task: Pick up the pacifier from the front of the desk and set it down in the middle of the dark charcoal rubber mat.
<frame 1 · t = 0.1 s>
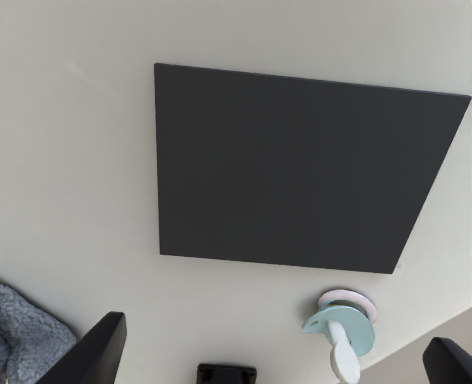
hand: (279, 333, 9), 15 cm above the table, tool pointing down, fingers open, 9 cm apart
mat: (292, 184, 23), on the table
pacifier: (339, 309, 30), on the table
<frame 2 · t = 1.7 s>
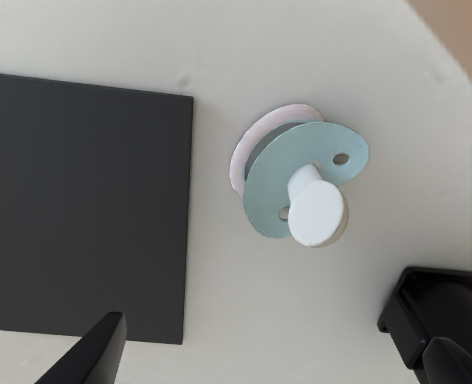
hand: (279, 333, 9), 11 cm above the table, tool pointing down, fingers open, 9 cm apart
mat: (74, 235, 20), on the table
pacifier: (285, 159, 18), on the table
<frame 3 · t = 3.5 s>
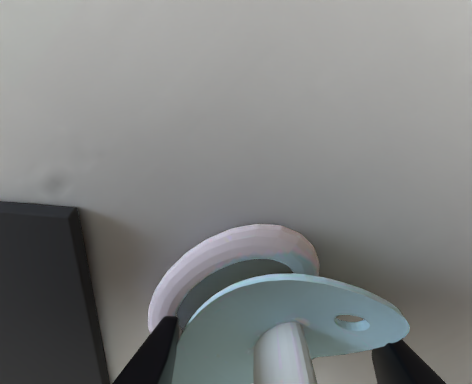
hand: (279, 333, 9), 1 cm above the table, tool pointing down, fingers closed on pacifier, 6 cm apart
pacifier: (250, 296, 10), on the table, touching gripper
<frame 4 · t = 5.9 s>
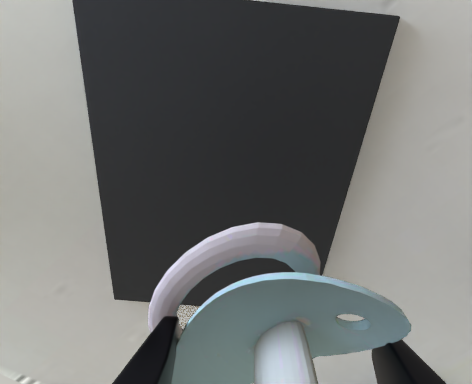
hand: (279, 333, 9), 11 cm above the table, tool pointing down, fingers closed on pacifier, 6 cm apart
mat: (222, 189, 19), on the table
pacifier: (250, 295, 10), point 10 cm above the table, touching gripper
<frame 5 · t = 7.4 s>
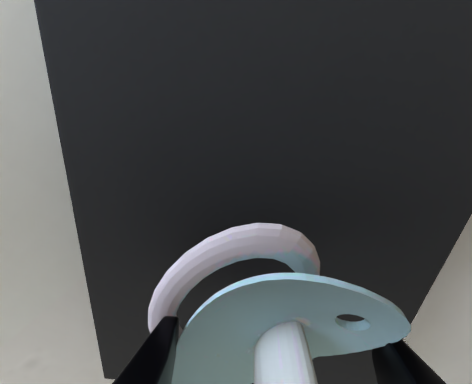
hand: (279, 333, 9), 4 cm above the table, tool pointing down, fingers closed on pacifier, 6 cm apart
mat: (264, 239, 13), on the table
pacifier: (250, 295, 10), point 3 cm above the table, touching gripper
when the fingers open (2 cm above the table, at t = 8.6 s): pacifier stays where it is, resting on mat.
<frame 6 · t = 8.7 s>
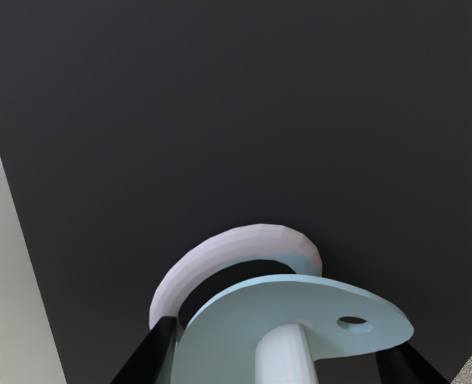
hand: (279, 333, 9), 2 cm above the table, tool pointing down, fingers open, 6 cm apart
mat: (271, 291, 10), on the table
pacifier: (252, 297, 10), resting on mat
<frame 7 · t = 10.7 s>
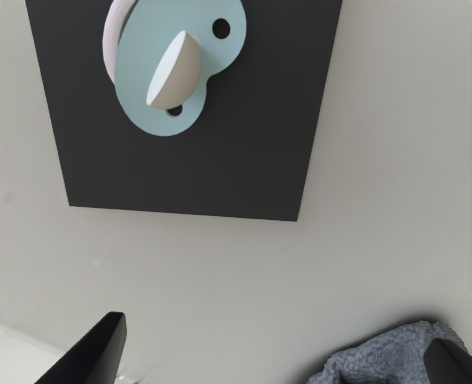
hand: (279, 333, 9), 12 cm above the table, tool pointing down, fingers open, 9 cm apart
mat: (184, 46, 16), on the table
pacifier: (170, 45, 16), resting on mat
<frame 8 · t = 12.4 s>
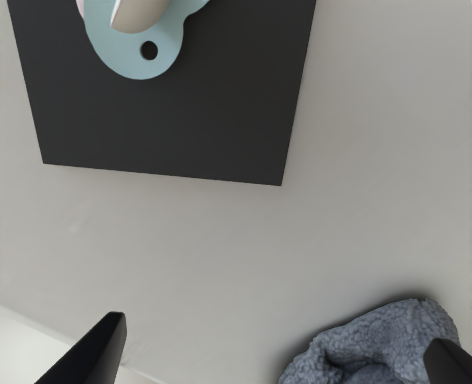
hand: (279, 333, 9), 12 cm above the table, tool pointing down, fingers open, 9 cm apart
koala plush: (355, 367, 30), on the table
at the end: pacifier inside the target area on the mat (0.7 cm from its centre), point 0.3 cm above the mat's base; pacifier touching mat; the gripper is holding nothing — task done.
